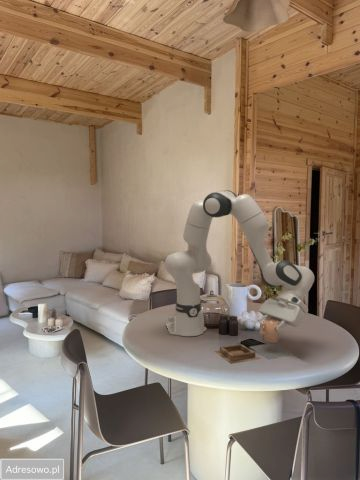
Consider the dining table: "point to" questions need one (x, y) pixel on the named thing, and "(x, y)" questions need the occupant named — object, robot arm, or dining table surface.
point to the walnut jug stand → (237, 353)
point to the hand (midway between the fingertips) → (270, 328)
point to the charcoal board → (271, 351)
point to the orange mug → (270, 330)
